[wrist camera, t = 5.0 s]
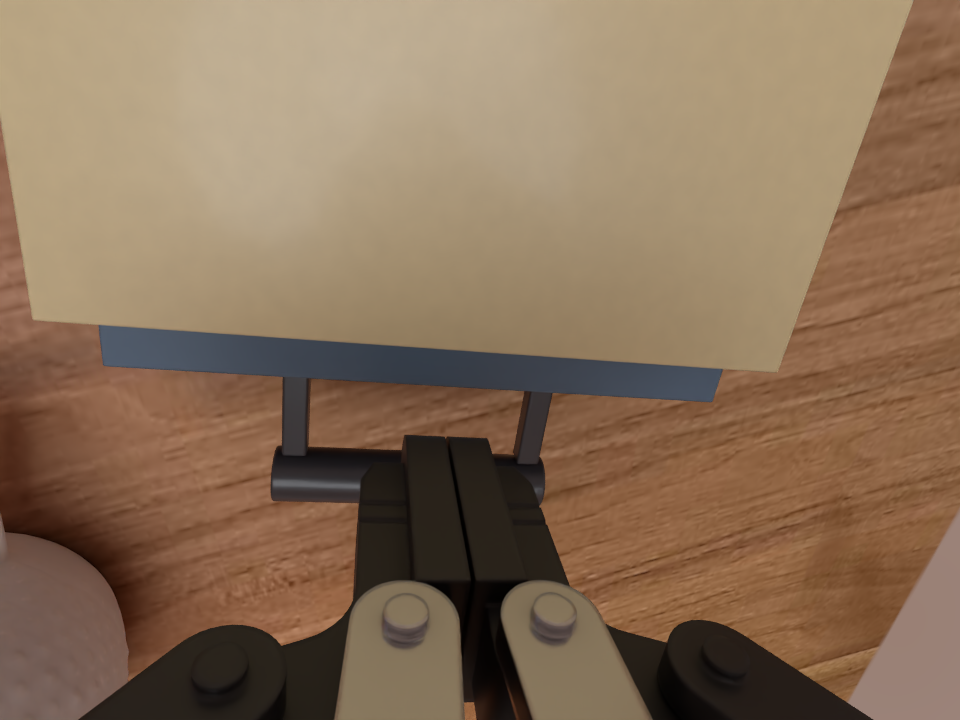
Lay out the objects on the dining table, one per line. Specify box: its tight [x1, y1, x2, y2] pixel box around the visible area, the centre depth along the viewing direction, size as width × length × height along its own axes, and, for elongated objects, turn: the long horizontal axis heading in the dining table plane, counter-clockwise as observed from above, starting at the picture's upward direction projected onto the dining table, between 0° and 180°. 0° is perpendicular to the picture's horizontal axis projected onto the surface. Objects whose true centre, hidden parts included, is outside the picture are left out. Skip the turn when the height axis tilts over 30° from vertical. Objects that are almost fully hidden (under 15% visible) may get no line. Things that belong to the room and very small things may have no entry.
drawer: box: [99, 325, 723, 506], centre depth 13 cm, size 20×12×7 cm, turn 172°
